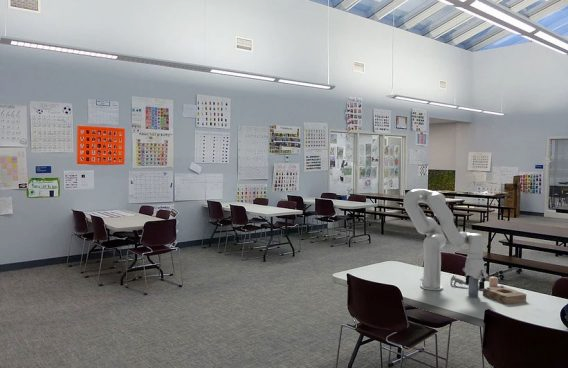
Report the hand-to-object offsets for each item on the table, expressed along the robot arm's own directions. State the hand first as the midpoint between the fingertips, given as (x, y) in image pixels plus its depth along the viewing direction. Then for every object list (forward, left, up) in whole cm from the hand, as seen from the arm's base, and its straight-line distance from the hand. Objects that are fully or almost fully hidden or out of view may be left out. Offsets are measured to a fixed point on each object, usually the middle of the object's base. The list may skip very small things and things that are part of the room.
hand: (474, 286), depth 241 cm
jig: (+8, +13, -6) cm, 16 cm away
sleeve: (-1, 0, -6) cm, 6 cm away
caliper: (-14, +9, -6) cm, 17 cm away
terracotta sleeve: (-4, +18, -6) cm, 19 cm away
